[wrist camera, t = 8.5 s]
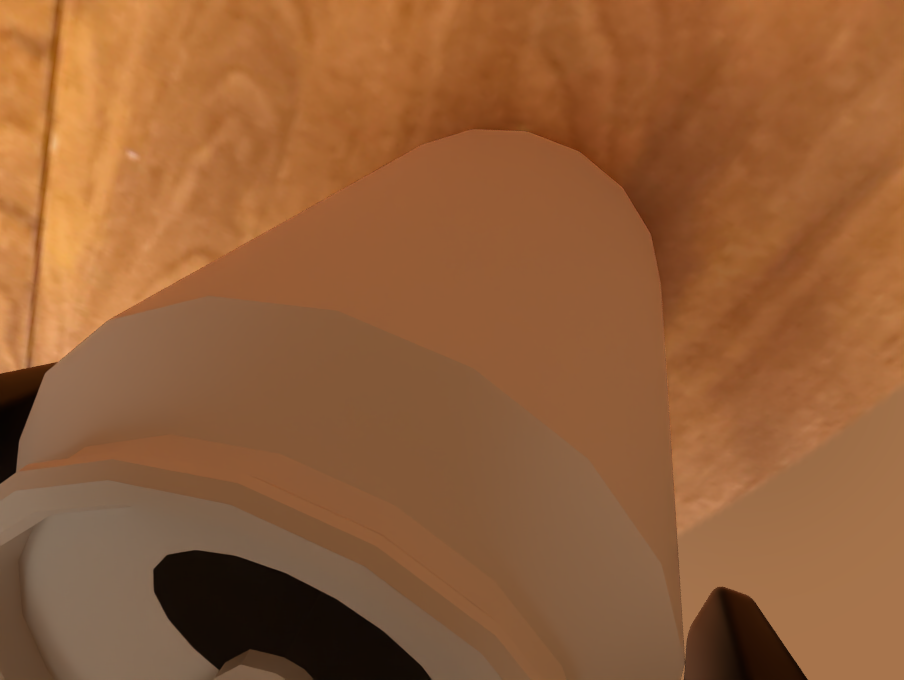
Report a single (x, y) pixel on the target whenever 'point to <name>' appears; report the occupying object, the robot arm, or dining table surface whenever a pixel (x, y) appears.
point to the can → (367, 447)
